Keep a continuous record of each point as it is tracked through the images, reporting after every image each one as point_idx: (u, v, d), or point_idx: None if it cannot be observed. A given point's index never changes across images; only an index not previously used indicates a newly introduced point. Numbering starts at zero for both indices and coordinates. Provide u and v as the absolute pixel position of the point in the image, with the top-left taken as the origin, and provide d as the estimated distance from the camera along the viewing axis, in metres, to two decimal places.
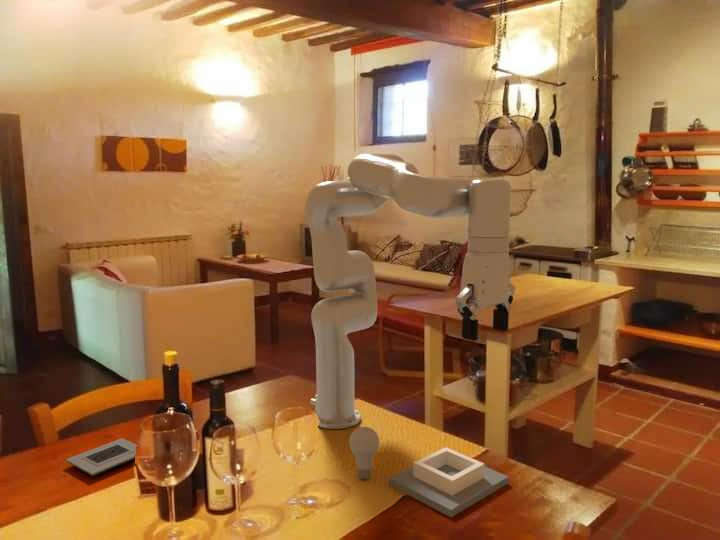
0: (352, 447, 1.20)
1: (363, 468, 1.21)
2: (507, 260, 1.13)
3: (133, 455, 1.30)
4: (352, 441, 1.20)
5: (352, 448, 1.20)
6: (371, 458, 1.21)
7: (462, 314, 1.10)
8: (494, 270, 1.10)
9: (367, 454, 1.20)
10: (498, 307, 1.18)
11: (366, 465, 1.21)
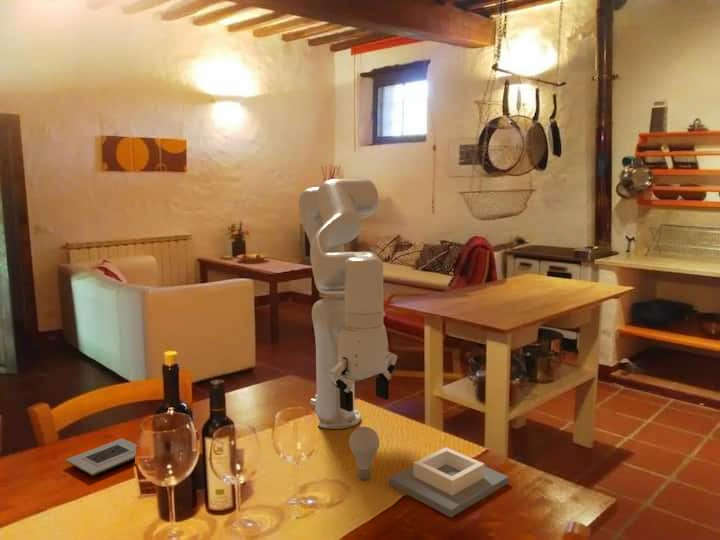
0: (352, 447, 1.20)
1: (363, 468, 1.21)
2: (383, 333, 1.19)
3: (133, 455, 1.30)
4: (352, 441, 1.20)
5: (352, 448, 1.20)
6: (371, 458, 1.21)
7: (337, 386, 1.15)
8: (368, 344, 1.16)
9: (367, 454, 1.20)
10: (379, 376, 1.23)
11: (366, 465, 1.21)
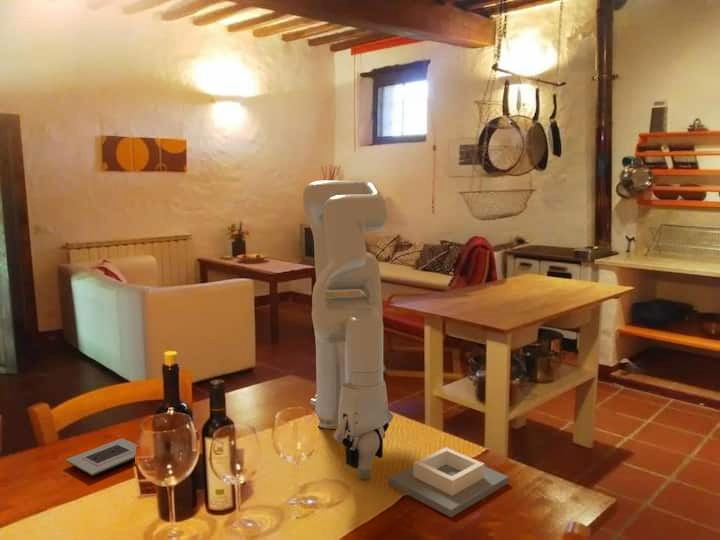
0: None
1: (363, 468, 1.21)
2: (383, 388, 1.21)
3: (133, 455, 1.30)
4: None
5: None
6: (371, 458, 1.21)
7: (343, 444, 1.19)
8: (367, 401, 1.18)
9: (368, 454, 1.20)
10: None
11: (366, 465, 1.21)
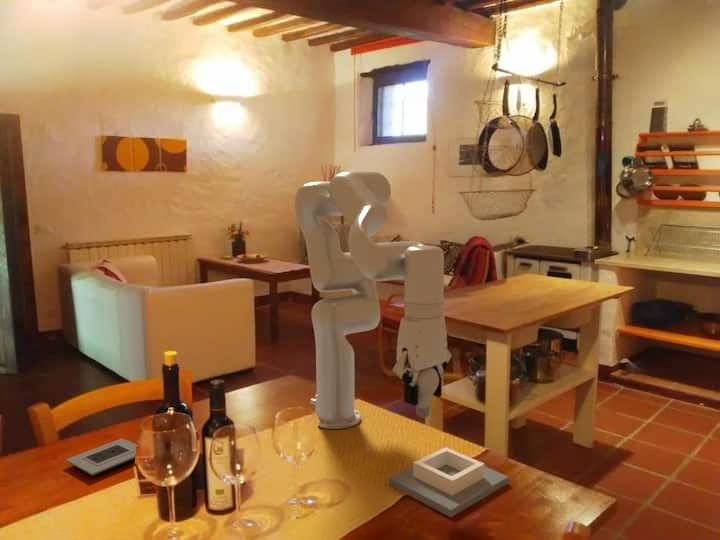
0: None
1: (422, 406, 1.17)
2: (443, 323, 1.17)
3: (133, 455, 1.30)
4: None
5: None
6: (430, 396, 1.17)
7: (402, 380, 1.15)
8: (428, 335, 1.14)
9: (427, 391, 1.16)
10: None
11: (425, 403, 1.17)
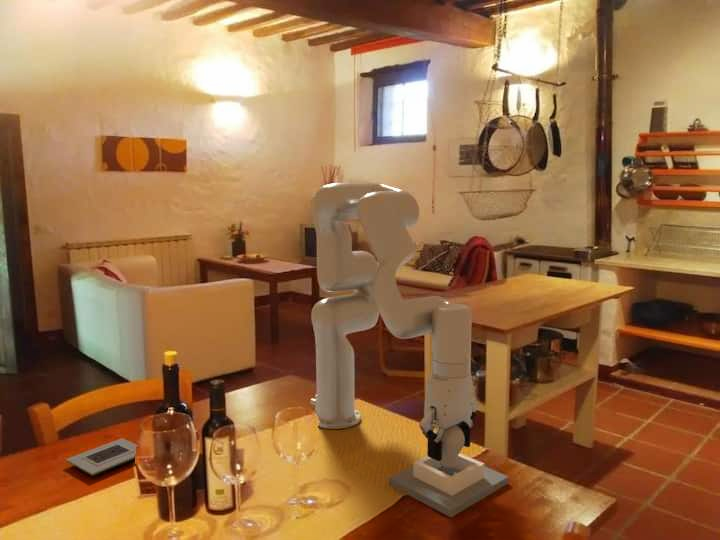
0: None
1: (448, 466, 1.19)
2: (469, 380, 1.18)
3: (133, 455, 1.30)
4: None
5: None
6: (456, 455, 1.19)
7: (427, 436, 1.15)
8: (456, 393, 1.15)
9: (454, 451, 1.17)
10: (461, 423, 1.22)
11: (451, 462, 1.19)
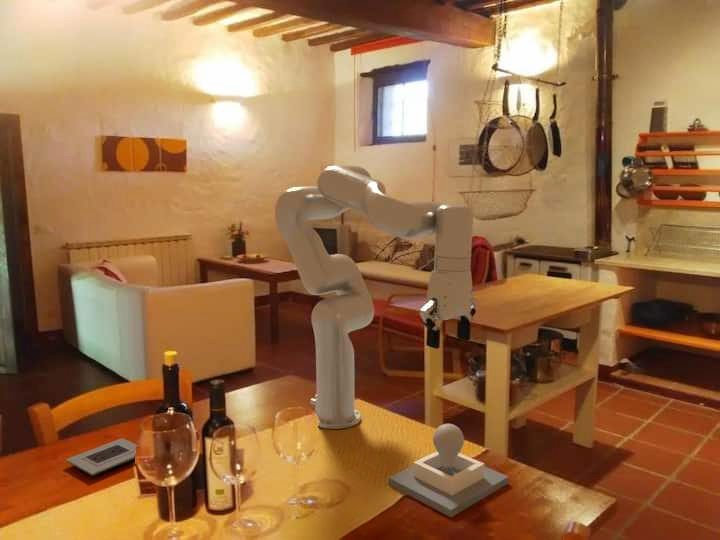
0: (437, 444, 1.18)
1: (448, 466, 1.19)
2: (469, 277, 1.27)
3: (133, 455, 1.30)
4: (437, 438, 1.18)
5: (437, 445, 1.18)
6: (456, 456, 1.19)
7: (426, 325, 1.24)
8: (456, 287, 1.24)
9: (453, 452, 1.17)
10: (462, 318, 1.31)
11: (451, 463, 1.19)
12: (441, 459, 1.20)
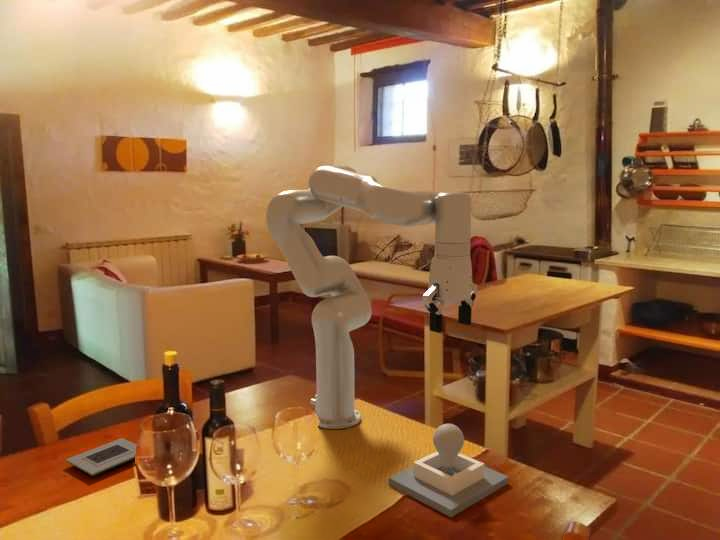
0: (437, 444, 1.18)
1: (448, 466, 1.19)
2: (469, 263, 1.30)
3: (133, 455, 1.30)
4: (437, 438, 1.18)
5: (437, 445, 1.18)
6: (456, 456, 1.19)
7: (429, 309, 1.27)
8: (457, 272, 1.27)
9: (453, 451, 1.17)
10: (462, 304, 1.35)
11: (451, 463, 1.19)
12: (441, 459, 1.20)
